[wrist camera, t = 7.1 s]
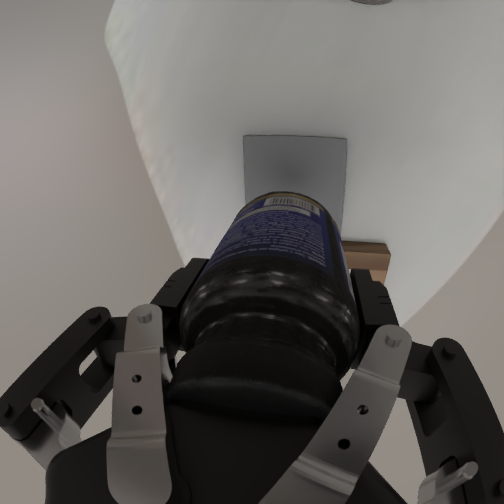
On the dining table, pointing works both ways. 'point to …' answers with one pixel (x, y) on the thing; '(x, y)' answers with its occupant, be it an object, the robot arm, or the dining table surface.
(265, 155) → the grey pad
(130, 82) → the dining table surface
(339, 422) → the robot arm
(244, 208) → the pill bottle
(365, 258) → the walnut holder
